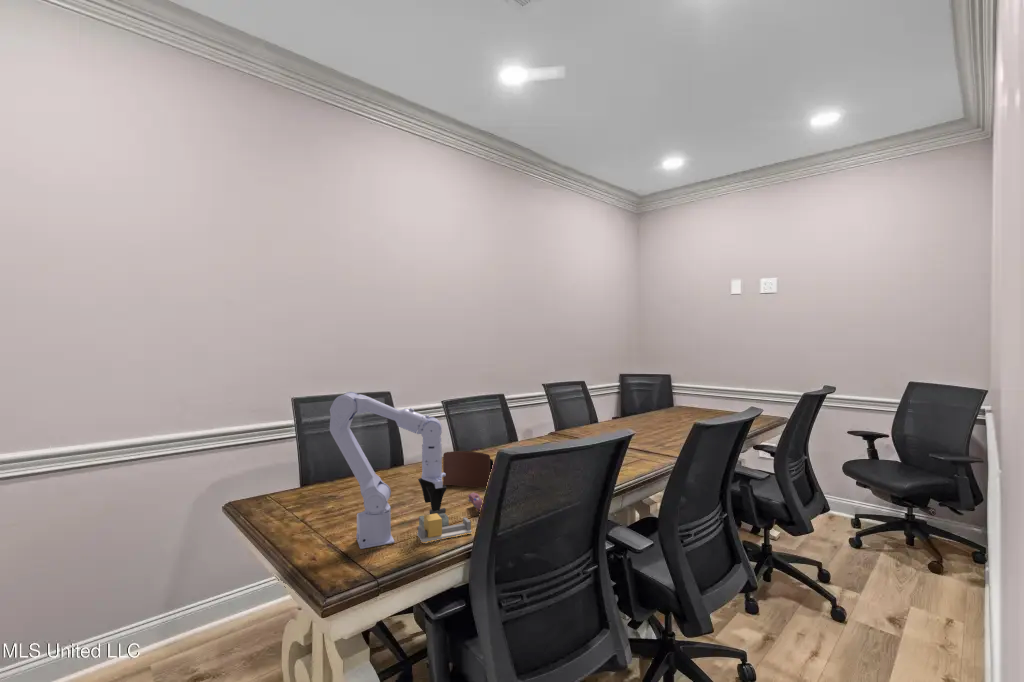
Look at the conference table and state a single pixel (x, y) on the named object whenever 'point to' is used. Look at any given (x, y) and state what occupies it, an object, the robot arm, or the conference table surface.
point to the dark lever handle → (438, 511)
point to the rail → (446, 531)
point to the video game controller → (475, 500)
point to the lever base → (444, 517)
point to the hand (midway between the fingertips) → (432, 506)
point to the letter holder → (466, 468)
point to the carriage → (433, 524)
